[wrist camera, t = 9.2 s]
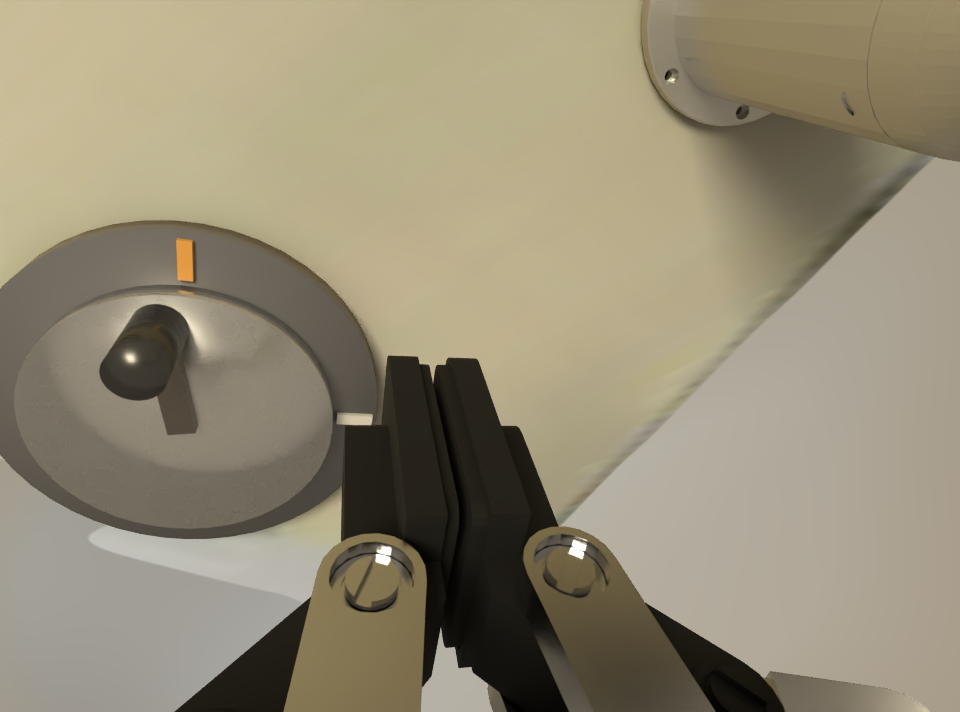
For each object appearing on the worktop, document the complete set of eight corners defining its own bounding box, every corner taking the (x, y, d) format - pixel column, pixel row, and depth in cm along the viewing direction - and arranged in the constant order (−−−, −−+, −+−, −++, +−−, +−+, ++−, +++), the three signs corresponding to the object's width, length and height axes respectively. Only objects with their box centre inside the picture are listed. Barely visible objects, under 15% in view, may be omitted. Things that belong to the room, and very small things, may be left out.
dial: (340, 500, 44) (340, 570, 39) (75, 525, 41) (34, 606, 35) (322, 280, 35) (318, 333, 30) (-23, 288, 32) (-99, 349, 26)
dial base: (421, 285, 39) (425, 299, 37) (327, 536, 49) (326, 558, 47) (-12, 160, 31) (-36, 171, 29) (-18, 494, 41) (-36, 519, 39)
